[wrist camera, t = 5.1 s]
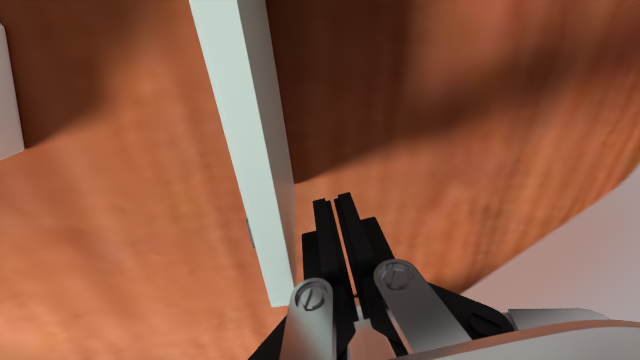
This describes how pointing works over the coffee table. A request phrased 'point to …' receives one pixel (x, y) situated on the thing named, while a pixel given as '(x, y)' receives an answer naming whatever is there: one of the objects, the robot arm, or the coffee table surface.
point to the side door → (253, 130)
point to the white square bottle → (8, 106)
